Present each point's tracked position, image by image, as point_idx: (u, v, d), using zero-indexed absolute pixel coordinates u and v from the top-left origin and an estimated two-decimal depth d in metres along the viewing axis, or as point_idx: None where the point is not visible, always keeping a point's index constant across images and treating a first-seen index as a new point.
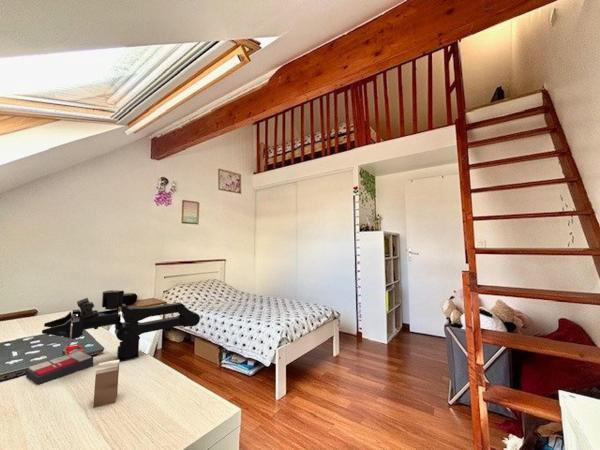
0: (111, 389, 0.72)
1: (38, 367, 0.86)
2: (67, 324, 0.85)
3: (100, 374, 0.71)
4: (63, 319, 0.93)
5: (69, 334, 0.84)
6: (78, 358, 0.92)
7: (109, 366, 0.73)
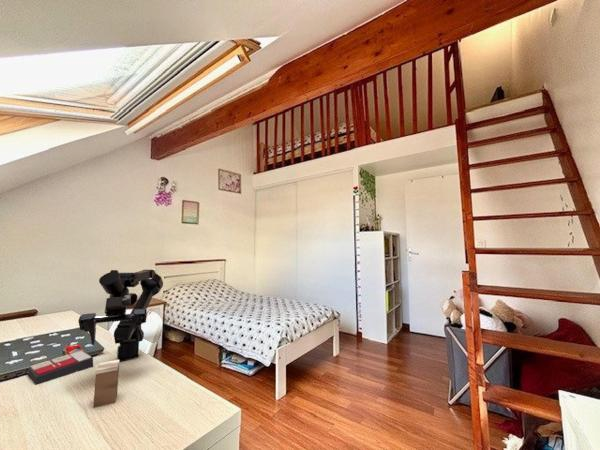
0: (111, 389, 0.72)
1: (39, 366, 0.86)
2: (137, 319, 0.88)
3: (100, 374, 0.71)
4: (94, 328, 0.82)
5: (141, 322, 0.91)
6: (78, 358, 0.92)
7: (109, 366, 0.73)
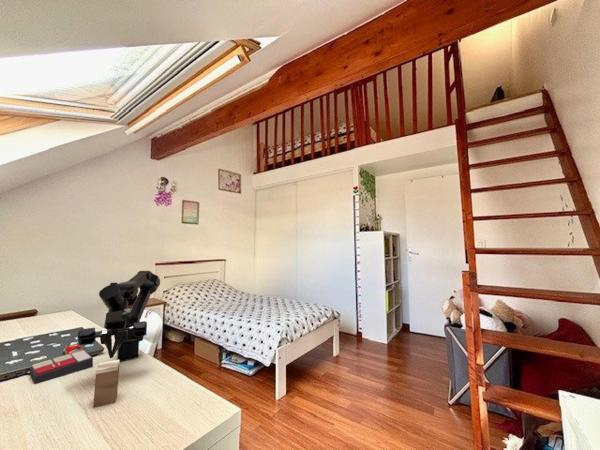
0: (111, 389, 0.72)
1: (40, 365, 0.87)
2: (122, 335, 0.84)
3: (100, 374, 0.71)
4: (111, 341, 0.83)
5: (127, 337, 0.87)
6: (78, 358, 0.92)
7: (109, 366, 0.73)
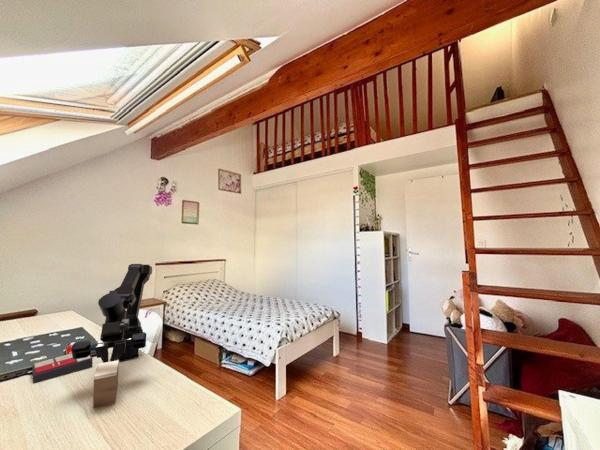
0: (110, 392, 0.71)
1: (41, 364, 0.88)
2: (119, 348, 0.79)
3: (98, 379, 0.69)
4: (107, 354, 0.77)
5: (124, 350, 0.81)
6: None
7: (108, 371, 0.70)
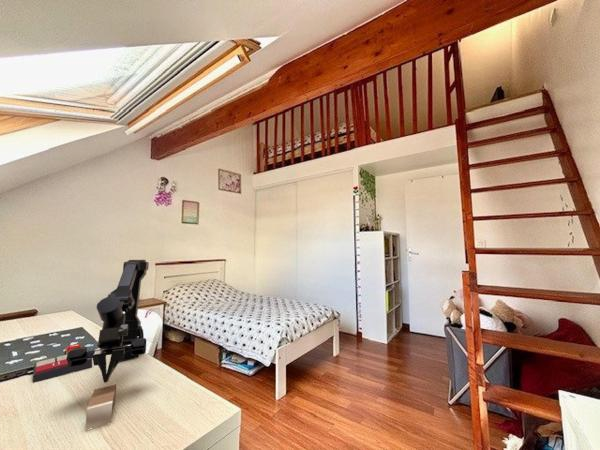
0: None
1: (42, 363, 0.89)
2: (118, 355, 0.74)
3: None
4: (105, 362, 0.72)
5: (123, 357, 0.77)
6: None
7: (101, 422, 0.63)
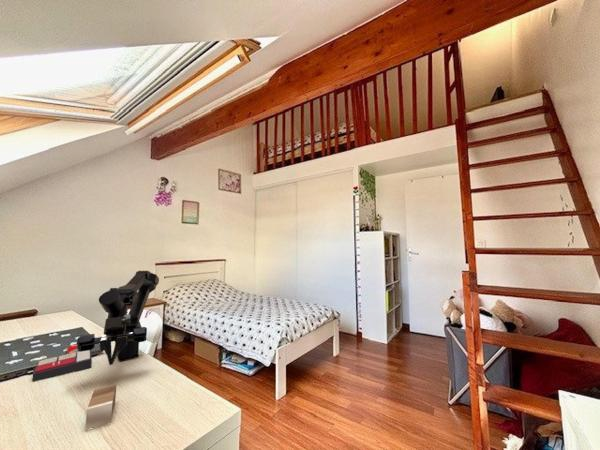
0: None
1: (44, 362, 0.89)
2: (121, 341, 0.84)
3: None
4: (110, 347, 0.82)
5: (126, 343, 0.87)
6: (79, 358, 0.92)
7: (101, 422, 0.63)
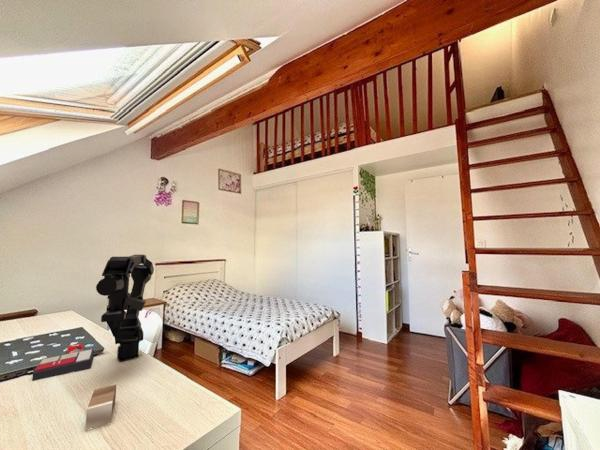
0: None
1: (46, 361, 0.90)
2: None
3: None
4: None
5: None
6: (79, 358, 0.92)
7: (101, 422, 0.63)
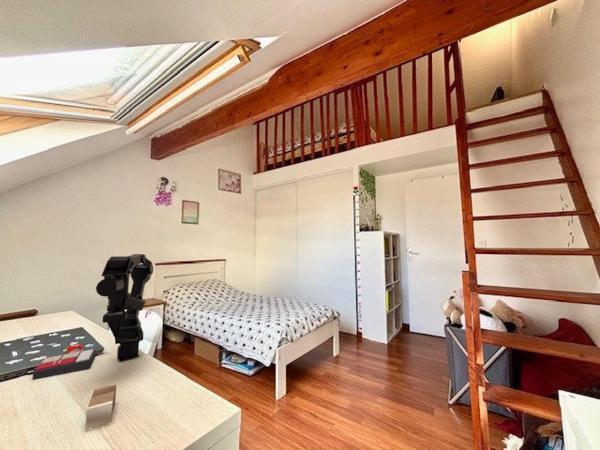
0: None
1: (47, 360, 0.91)
2: None
3: None
4: None
5: None
6: (79, 358, 0.92)
7: (101, 422, 0.63)
